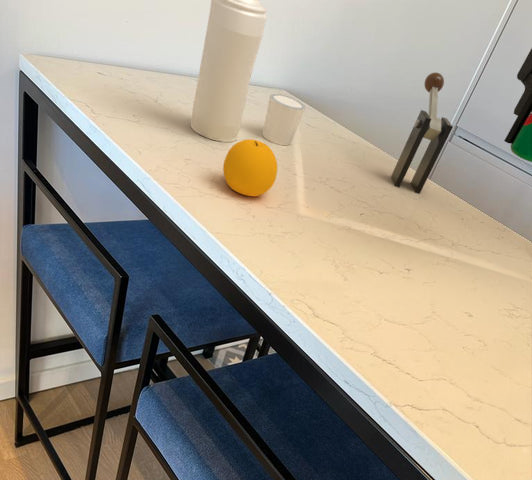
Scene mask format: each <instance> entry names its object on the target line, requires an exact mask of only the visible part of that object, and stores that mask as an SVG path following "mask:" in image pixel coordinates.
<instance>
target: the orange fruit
mask: <svg viewBox="0 0 532 480" xmlns="http://www.w3.org/2000/svg"><path fill="white" fill-rule="evenodd" d="M222 169H223V176H224V179H225V180H224V181H225V182H226V184H227V185H228V186H229V187H230V188H231V189H232V191H234V192H237V193H238V194H241V195H244V196H247V197H258V196H263V195H264V194H267V193H268V191H270V190H271V188H272V187H273V186H274V184H275V182H276V180H277V174H278V162H277V158H276V156H275V153H274V151H273V150H272V148H271V147H269V146H268V144H266V143H265V142H262V141H261V140H260V141H259V140H256V139H252V138H250V139H249V138H248V139H247V138H246V139H243V140H240V141H238V142H236V143H235V144H233V145H232V146H231V147H230V148H229V150H228V151H227V154H226V155H225V159H224V162H223V168H222Z"/></svg>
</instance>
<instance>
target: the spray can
mask: <svg viewBox="0 0 532 480" xmlns="http://www.w3.org/2000/svg"><path fill="white" fill-rule="evenodd" d="M267 10H268V9H267V8H266V7H265V5H262V4H261V3H260V1H259V0H211V1H210V8H209V15H208V21H207V26H206V31H205V33H206V34H205V37H204V43H203V49H202V55H201V61H200V65H199V72H198V77H197V84H196V88H195V93H194V99H193V106H192V112H191V119H190V127H191V129H192V130H193V131H194V132H195V133H197V134H198V135H200V136H202V137H204V138H206V139H209V140H213V141H216V142H223V143H231V142H235V141H237V140H238V138H239V137H238V136H239V133H240V128H241V124H242V120H243V115H244V110H245V106H246V101H247V95H248V92H249V86H250V82H251V78H252V75H253V71H254V66H255V63H256V59H257V55H258V53H259V49H260V45H261V41H262V39H263V35H264V30H265V25H266V20H267V14H266V13H267Z"/></svg>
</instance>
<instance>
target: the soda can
mask: <svg viewBox="0 0 532 480" xmlns="http://www.w3.org/2000/svg"><path fill="white" fill-rule="evenodd" d="M510 151H511V152H512V154H514V155H515V156H516V157H518V158H520V159H522V160H524V161H527V162H530V163H532V107H531V109H530V111H529V113H528V114H527V116H526V118H525V120H524V122H523V123H522V125H521V127H520V129H519V131H518V132H517V134H516V136H515V138H514V139H513V141H512V143H510Z"/></svg>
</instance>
